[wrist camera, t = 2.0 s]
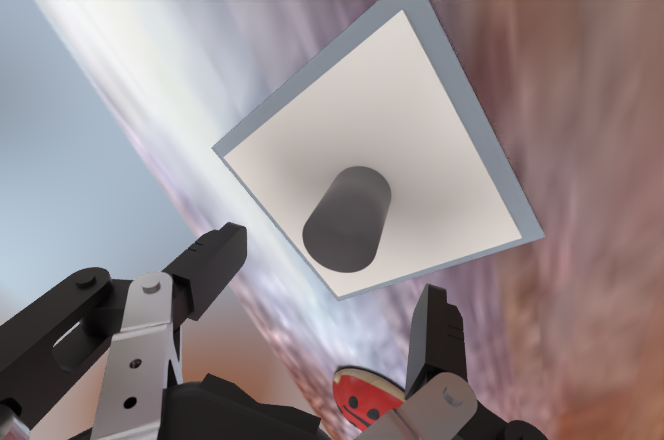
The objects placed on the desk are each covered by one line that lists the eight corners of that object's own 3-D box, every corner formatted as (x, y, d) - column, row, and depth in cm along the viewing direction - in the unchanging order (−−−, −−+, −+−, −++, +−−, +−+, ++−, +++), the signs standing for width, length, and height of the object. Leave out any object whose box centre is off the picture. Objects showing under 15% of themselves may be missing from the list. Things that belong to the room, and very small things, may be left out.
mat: (216, 145, 21) (211, 147, 21) (414, -29, 13) (413, -31, 13) (339, 296, 26) (338, 301, 25) (542, 231, 18) (545, 237, 17)
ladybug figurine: (392, 422, 34) (388, 459, 31) (320, 375, 33) (309, 408, 31) (435, 405, 30) (435, 446, 27) (354, 352, 29) (345, 387, 27)
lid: (230, 152, 20) (167, 192, 16) (403, 9, 14) (385, 4, 9) (340, 289, 24) (316, 353, 20) (519, 230, 18) (547, 306, 13)
